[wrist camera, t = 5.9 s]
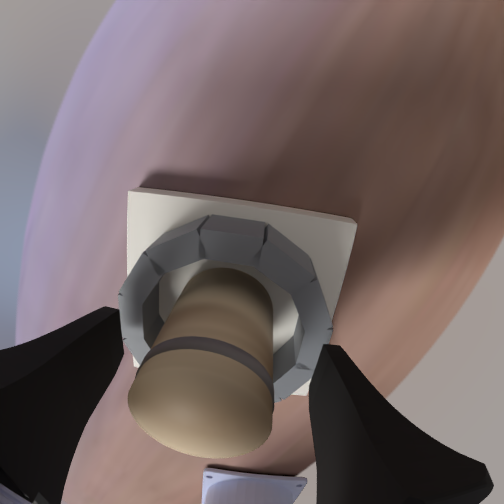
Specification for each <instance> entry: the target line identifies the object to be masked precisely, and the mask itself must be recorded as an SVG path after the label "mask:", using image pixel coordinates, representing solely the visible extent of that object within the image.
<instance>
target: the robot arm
mask: <svg viewBox="0 0 504 504" xmlns="http://www.w3.org/2000/svg"><path fill="white" fill-rule="evenodd" d="M123 355H124V349H123V340H122V331H121V320H120V310H119V309H114V308H110V307H106V306H105V307H102V308H100V309H97V310H95V311H93V312H91V313H89V314H87V315H85V316H83V317H81V318H79V319H77V320H75V321H73V322H71V323H69V324H67V325H65V326H63V327H61V328H59V329H57V330H55V331H52V332H50V333H48V334H46V335H43V336H41V337H39V338H37V339H34V340H31V341H29V342H26V343H23V344H20V345H17V346H14V347H11V348H7V349H3V350H0V504H61V499H62V495H63V490H64V486H65V482H66V478H67V475H68V471H69V468H70V465H71V462H72V459H73V456H74V453H75V450H76V448H77V445H78V442H79V440H80V438H81V435H82V433H83V430H84V428H85V426H86V424H87V422H88V420H89V418H90V416H91V415H92V413H93V411H94V409H95V408H96V406H97V404H98V403H99V401H100V399H101V398H102V396H103V394H104V393H105V391H106V389H107V388H108V386H109V384H110V383H111V381H112V379H113V378H114V376H115V374H116V372H117V369H118V367H119V365H120V362H121V360H122V358H123ZM309 413H310V420H311V428H312V435H313V442H314V449H315V457H316V466H317V504H479V503H480V502H481V501H483V500H484V499H485V498H486V497H487V496H488V495H489V494H490V493H491V491H492V489H493V486H494V485H493V482H492V480H491V477H490V475H489V473H488V470H487V468H486V466H485V464H484V463H481V462H479V461H477V460H474V459H472V458H469V457H467V456H465V455H462V454H460V453H458V452H456V451H454V450H453V449H451V448H449V447H447V446H445V445H443V444H442V443H440V442H438V441H437V440H435V439H434V438H432V437H431V436H429V435H428V434H426V433H425V432H423V431H422V430H420V429H419V428H418V427H416V426H415V425H414V424H413V423H411V422H410V421H409V420H408V419H407V418H405V417H404V416H403V415H402V414H401V413H400V412H398V411H397V410H396V409H395V408H394V407H393V406H392V405H391V404H390V403H389V402H388V401H387V400H386V399H385V398H384V397H383V396H382V395H381V394H380V393H379V392H378V391H377V389H376V388H375V387H374V386H373V385H372V384H371V383H370V382H369V380H368V379H367V378H366V377H365V376H364V374H363V373H362V372H361V371H360V370H359V368H358V367H357V366H356V365H355V363H354V362H353V361H352V360H351V358H350V357H349V356H348V355H347V353H346V352H345V351H344V350H343V348H342V347H341V346H340V345H329V344H323V346H322V349H321V352H320V355H319V358H318V361H317V364H316V367H315V370H314V373H313V376H312V379H311V381H310V384H309ZM306 484H307V478H305V477H289V476H273V475H261V474H251V473H242V472H234V471H227V470H221V469H214V468H205V469H204V472H203V488H202V504H293V503H294V501H295V500H296V498H297V497H298V496H299V494H300V493H301V491H302V490H303V488H304V487H305V485H306Z"/></svg>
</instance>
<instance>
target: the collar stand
mask: <svg viewBox="0 0 504 504" xmlns="http://www.w3.org/2000/svg"><path fill="white" fill-rule="evenodd" d="M357 225H358V224H357V223H356V222H355V221H354V220H353V219H352V218H348V217H343V216H337V215H332V214H326V213H321V212H315V211H309V210H303V209H297V208H291V207H285V206H279V205H272V204H266V203H259V202H253V201H246V200H239V199H232V198H225V197H217V196H210V195H202V194H194V193H186V192H178V191H169V190H160V189H151V188H142V187H137V188H135V189H132V190H130V191H128V212H127V275H128V277H127V279H126V280H125V282H124V284H123V285H122V287H121V289H120V291H119V294H118V301H119V310H120V320H121V331H122V338H124V339H123V341H124V343H125V344H126V346H127V347H128V349H129V350H130V352H131V353H132V355H133V361H134V367H138V368H139V366H140V365H141V363H142V361H143V359H144V357H145V356H146V354H147V353H148V352H149V351H150V349H151V347H152V346H153V344H154V342H155V340H156V338H157V336H158V334H159V332H160V331H161V329H162V327H163V325H164V323H165V321H166V320H167V318H168V316H169V314H170V312H171V310H172V309H173V307H174V305H175V303H176V301H177V300H178V298H179V296H180V294H181V292H182V291H183V289H184V287H185V285H186V284H187V283H188V282H189V281H190V280H191V279H192V278H193V277H194V276H195V275H197V274H199V273H201V272H203V271H205V270H208V269H213V268H232V269H236V270H240V271H243V272H245V273H247V274H249V275H251V276H252V277H254V278H255V279H257V280H258V281H259V282H260V283H261V284H262V285H263V286H264V288H265V289H266V290H267V292H268V294H269V296H270V298H271V301H272V305H273V385H274V403H275V402H279V401H281V398H282V399H286V398H287V397H288V396H290V395H291V394H293V395H305V396H307V393H308V390H309V384H310V381H311V379H312V376H313V373H314V370H315V367H316V364H317V361H318V358H319V355H320V352H321V349H322V346H323V344H329V341H330V338H331V335H332V332H333V328H332V327H333V325H332V319H333V315H334V312H335V309H336V305H337V302H338V298H339V295H340V291H341V288H342V284H343V281H344V277H345V273H346V269H347V266H348V262H349V258H350V254H351V250H352V246H353V242H354V238H355V234H356V229H357Z"/></svg>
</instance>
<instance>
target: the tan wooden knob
mask: <svg viewBox="0 0 504 504" xmlns="http://www.w3.org/2000/svg"><path fill="white" fill-rule="evenodd" d="M128 405H129V409H130V412H131V414H132V416H133V418H134V419H135V421H136V422H137V423H138V425H139V426H140V427H141V428H142V429H143V430H144V431H145V432H146V433H147V434H148V435H150V436H151V437H152V438H154V439H155V440H157V441H158V442H160V443H161V444H163V445H165V446H167V447H169V448H171V449H174V450H176V451H179V452H182V453H185V454H189V455H192V456H198V457H204V458H230V457H236V456H241V455H244V454H247V453H249V452H251V451H254V450H255V449H257V448H259V447H260V446H261V445H262V444H263V443H264V442H265V441H266V440H267V439H268V437H269V435H270V433H271V430H272V414H273V411H274V385H273V305H272V301H271V298H270V296H269V294H268V292H267V290H266V289H265V288H264V286H263V285H262V284H261V283H260V282H259V281H258V280H257V279H255V278H254V277H252V276H251V275H249V274H247V273H245V272H243V271H240V270H236V269H232V268H213V269H208V270H205V271H203V272H201V273H199V274H197V275H195V276H194V277H193V278H192V279H191V280H190V281H189V282H188V283H187V284H186V285H185V287H184V289H183V291H182V292H181V294H180V296H179V298H178V300H177V301H176V303H175V305H174V307H173V309H172V310H171V312H170V314H169V316H168V318H167V320H166V321H165V323H164V325H163V327H162V329H161V331H160V332H159V334H158V336H157V338H156V340H155V342H154V344H153V346H152V347H151V349H150V351H149V352H148V353H147V354H146V356H145V357H144V359H143V361H142V363H141V365H140V366H139V368H138V370H137V373H136V377H135V380H134V382H133V384H132V386H131V388H130V390H129V393H128Z"/></svg>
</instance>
